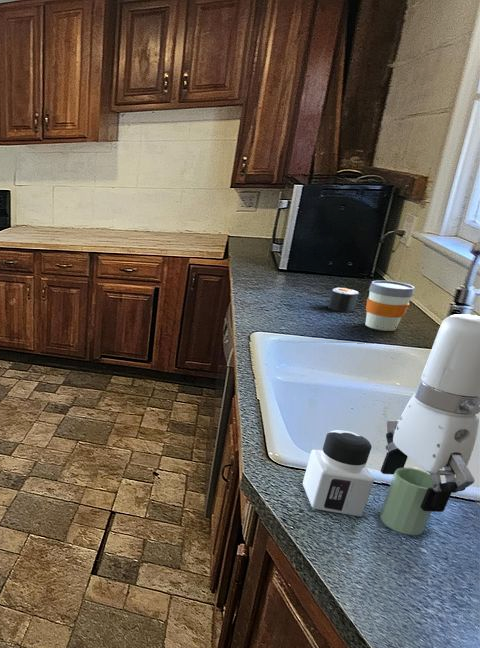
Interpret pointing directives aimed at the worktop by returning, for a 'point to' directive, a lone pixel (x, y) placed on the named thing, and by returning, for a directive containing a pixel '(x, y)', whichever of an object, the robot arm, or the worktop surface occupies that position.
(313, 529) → the worktop surface
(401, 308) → the reusable coffee cup
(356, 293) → the sushi
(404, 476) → the cup
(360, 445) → the container
